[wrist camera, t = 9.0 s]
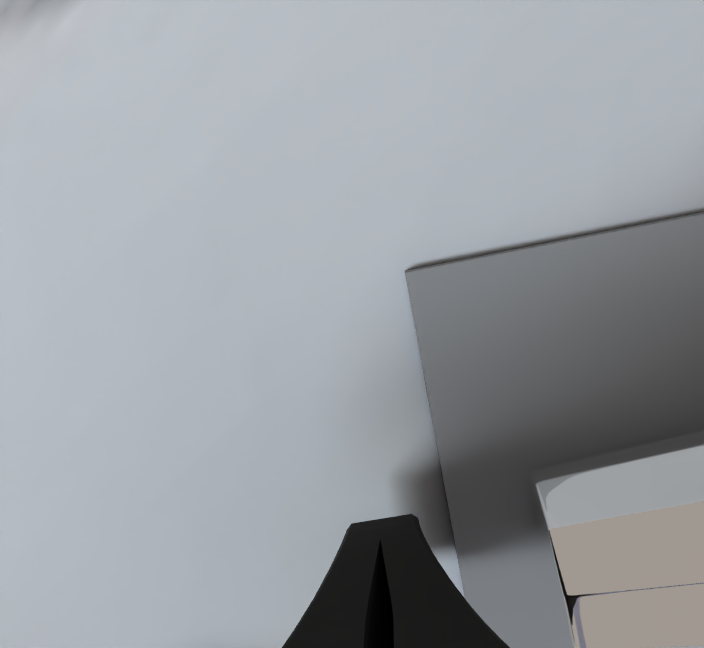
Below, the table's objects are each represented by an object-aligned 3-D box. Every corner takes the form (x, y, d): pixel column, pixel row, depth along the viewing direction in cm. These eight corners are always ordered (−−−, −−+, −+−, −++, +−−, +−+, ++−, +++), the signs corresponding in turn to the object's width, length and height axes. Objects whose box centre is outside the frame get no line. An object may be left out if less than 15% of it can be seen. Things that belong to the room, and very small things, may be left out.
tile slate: (932, 658, 14) (940, 665, 14) (488, 720, 15) (489, 728, 14) (962, 160, 11) (974, 160, 11) (404, 270, 12) (405, 272, 12)
